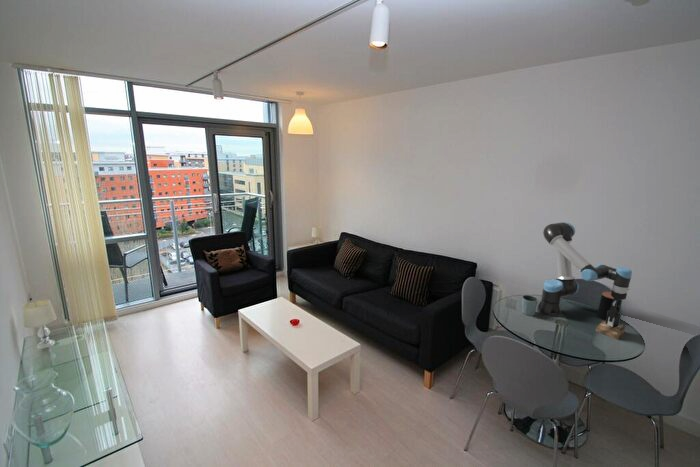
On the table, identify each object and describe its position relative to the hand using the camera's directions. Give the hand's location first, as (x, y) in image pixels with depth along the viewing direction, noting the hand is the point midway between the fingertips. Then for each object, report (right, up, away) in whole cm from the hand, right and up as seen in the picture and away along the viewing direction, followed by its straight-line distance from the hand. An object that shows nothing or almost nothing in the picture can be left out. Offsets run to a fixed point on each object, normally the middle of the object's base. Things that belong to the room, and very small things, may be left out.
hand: (611, 323), depth 209 cm
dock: (0, -6, +2) cm, 6 cm away
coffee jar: (+11, -1, +18) cm, 21 cm away
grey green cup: (-40, 0, +26) cm, 48 cm away
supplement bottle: (0, -1, 0) cm, 1 cm away
